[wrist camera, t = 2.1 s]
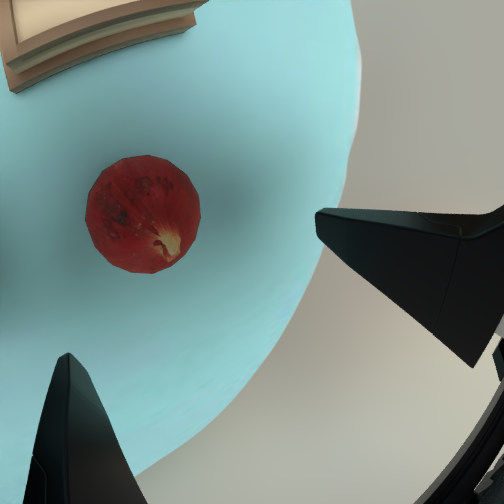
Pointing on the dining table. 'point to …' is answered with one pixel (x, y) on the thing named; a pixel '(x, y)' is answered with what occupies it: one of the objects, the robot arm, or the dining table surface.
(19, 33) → the pedestal
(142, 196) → the pomegranate
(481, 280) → the robot arm
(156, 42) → the dining table surface
